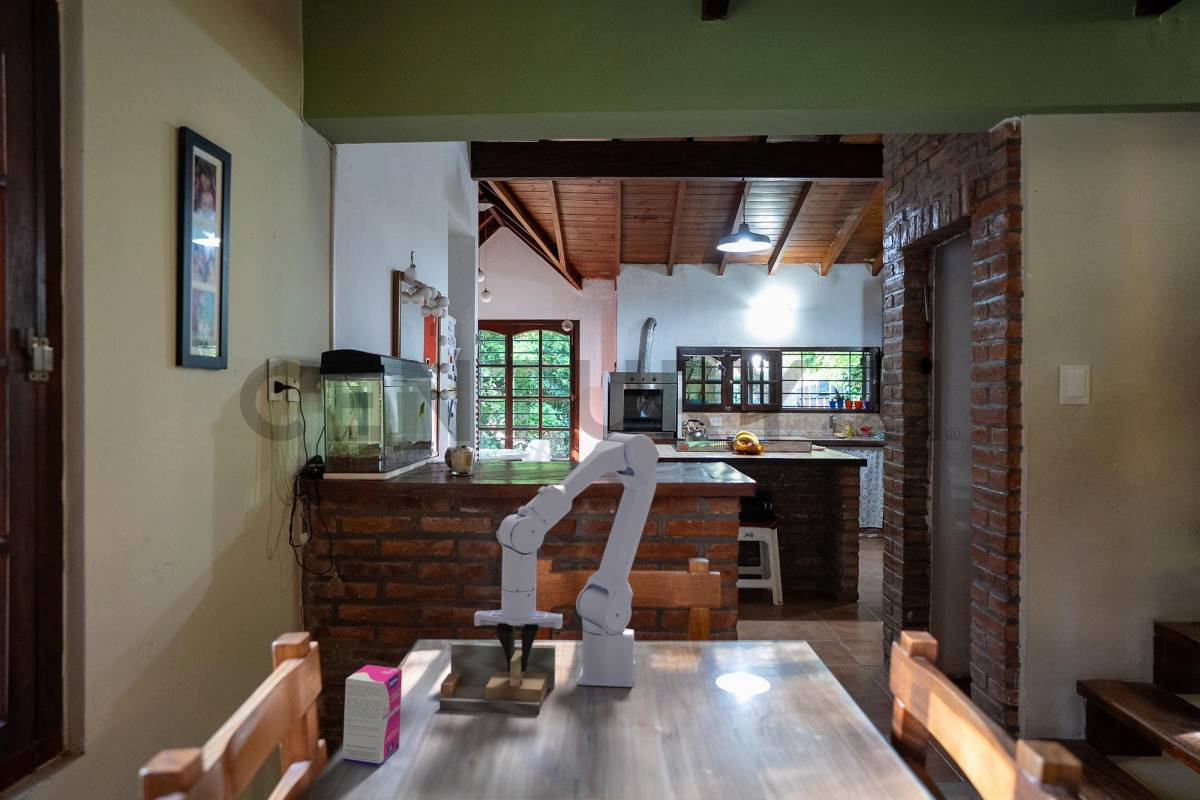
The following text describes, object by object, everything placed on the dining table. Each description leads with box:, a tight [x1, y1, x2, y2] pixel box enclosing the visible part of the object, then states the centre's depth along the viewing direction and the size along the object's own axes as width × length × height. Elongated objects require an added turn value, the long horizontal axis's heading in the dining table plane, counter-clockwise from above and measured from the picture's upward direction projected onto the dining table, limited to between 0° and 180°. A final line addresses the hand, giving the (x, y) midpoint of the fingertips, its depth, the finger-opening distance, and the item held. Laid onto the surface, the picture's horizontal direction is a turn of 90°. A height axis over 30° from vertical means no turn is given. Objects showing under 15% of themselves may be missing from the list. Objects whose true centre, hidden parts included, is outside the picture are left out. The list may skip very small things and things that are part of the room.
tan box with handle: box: [485, 651, 548, 709], centre depth 120 cm, size 9×7×7 cm
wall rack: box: [439, 641, 556, 715], centre depth 120 cm, size 18×12×7 cm, turn 86°
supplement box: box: [341, 664, 403, 768], centre depth 100 cm, size 6×6×12 cm
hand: (517, 669), depth 120 cm, fingers closed on tan box with handle
